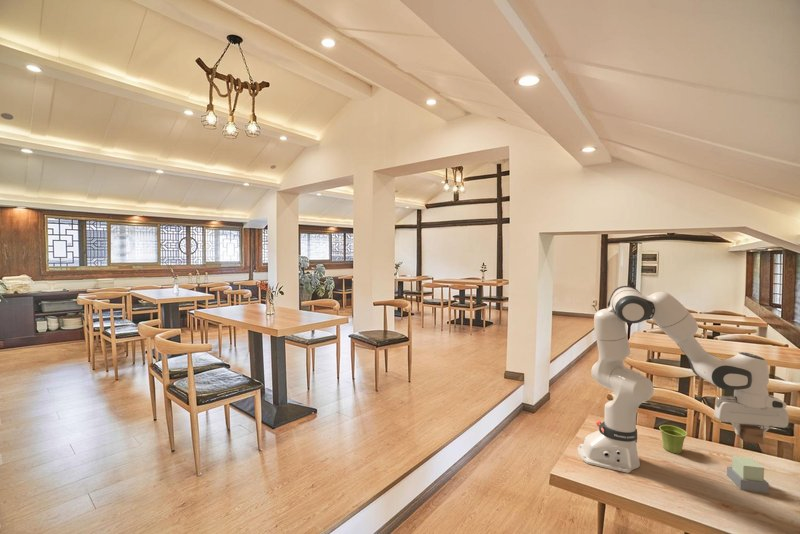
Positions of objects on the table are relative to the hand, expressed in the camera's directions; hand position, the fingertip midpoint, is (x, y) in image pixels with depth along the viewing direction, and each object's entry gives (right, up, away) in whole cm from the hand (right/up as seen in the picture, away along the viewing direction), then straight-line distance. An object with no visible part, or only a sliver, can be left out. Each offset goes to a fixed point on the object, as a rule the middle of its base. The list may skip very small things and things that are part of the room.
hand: (749, 435), depth 128 cm
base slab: (0, -19, +1) cm, 19 cm away
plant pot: (-10, -18, +24) cm, 31 cm away
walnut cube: (0, -2, 0) cm, 2 cm away
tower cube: (0, -15, +1) cm, 15 cm away
